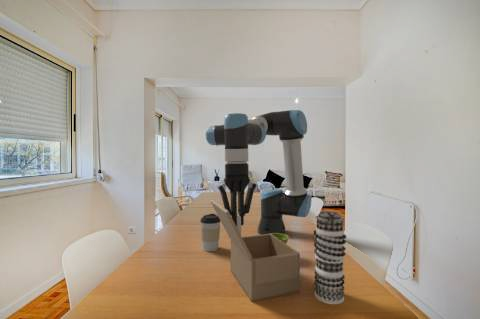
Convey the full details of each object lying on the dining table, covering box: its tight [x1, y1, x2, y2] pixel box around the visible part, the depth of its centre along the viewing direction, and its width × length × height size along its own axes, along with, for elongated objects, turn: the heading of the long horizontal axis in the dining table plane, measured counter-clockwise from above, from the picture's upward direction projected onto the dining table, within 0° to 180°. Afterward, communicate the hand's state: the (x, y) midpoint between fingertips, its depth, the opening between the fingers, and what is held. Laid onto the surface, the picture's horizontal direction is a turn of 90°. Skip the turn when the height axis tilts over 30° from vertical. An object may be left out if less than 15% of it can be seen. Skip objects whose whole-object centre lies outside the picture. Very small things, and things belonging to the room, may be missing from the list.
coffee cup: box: [200, 213, 221, 252], centre depth 113 cm, size 9×9×15 cm
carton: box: [230, 234, 301, 302], centre depth 84 cm, size 16×21×12 cm
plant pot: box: [270, 233, 290, 245], centre depth 104 cm, size 9×9×9 cm
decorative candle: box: [313, 210, 347, 305], centre depth 75 cm, size 9×9×25 cm
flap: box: [209, 199, 252, 259], centre depth 80 cm, size 16×20×1 cm
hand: (237, 235), depth 81 cm, fingers closed
